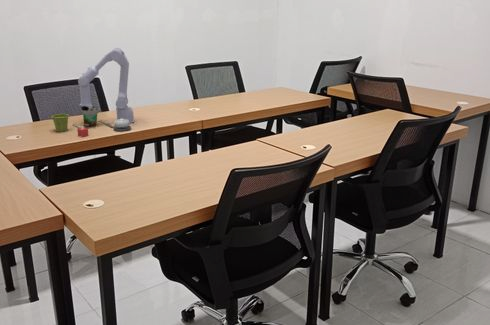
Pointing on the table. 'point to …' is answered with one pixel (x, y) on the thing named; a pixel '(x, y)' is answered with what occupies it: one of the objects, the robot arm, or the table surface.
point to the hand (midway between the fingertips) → (87, 118)
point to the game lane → (99, 121)
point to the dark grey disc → (122, 129)
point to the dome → (121, 123)
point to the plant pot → (60, 122)
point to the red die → (82, 132)
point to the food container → (90, 117)
